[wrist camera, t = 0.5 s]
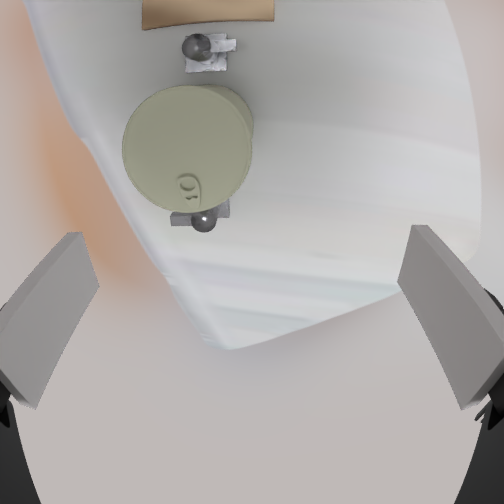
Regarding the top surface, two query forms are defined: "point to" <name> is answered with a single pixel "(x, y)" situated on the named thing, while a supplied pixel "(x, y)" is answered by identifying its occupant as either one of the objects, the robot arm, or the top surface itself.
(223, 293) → the top surface
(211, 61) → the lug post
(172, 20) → the tan flat square board
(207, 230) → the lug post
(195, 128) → the can
